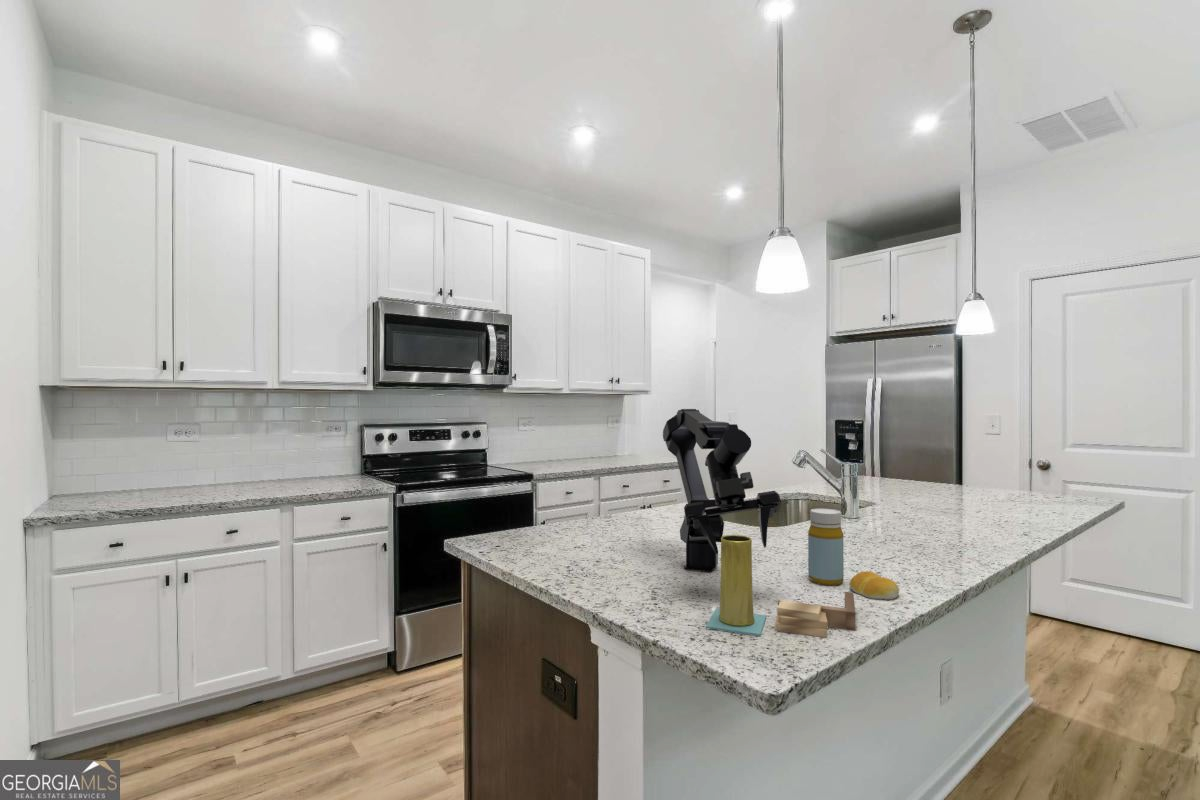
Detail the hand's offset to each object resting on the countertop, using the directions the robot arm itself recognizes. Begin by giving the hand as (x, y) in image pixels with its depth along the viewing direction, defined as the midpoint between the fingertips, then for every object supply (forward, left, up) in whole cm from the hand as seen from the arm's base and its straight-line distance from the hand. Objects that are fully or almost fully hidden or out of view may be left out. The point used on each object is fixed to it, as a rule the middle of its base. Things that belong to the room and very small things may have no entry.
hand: (741, 550), depth 112 cm
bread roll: (+24, +15, -10) cm, 30 cm away
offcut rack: (+14, -4, -10) cm, 17 cm away
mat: (+1, -11, -10) cm, 15 cm away
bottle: (+15, +20, -10) cm, 27 cm away
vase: (+1, -11, -10) cm, 15 cm away
